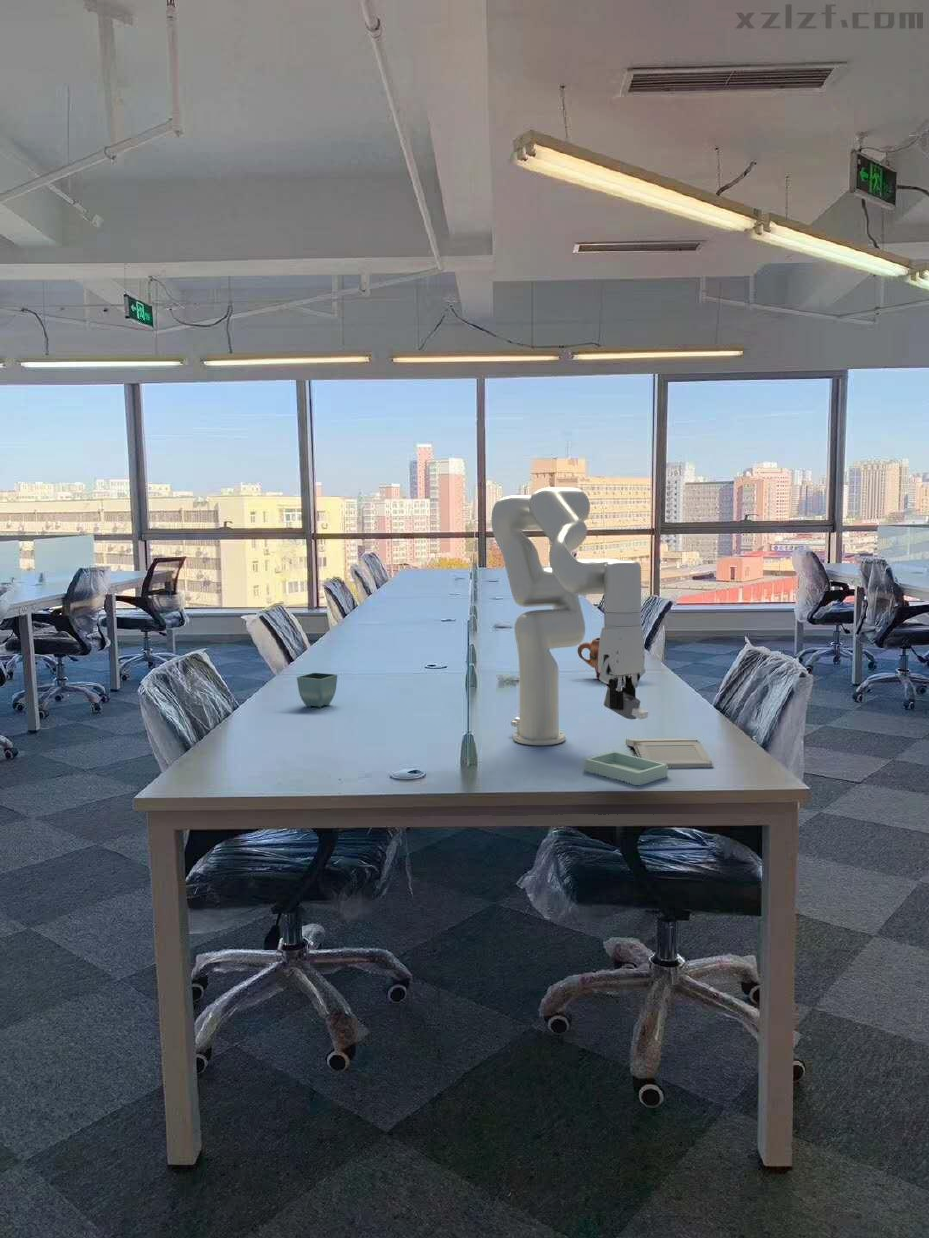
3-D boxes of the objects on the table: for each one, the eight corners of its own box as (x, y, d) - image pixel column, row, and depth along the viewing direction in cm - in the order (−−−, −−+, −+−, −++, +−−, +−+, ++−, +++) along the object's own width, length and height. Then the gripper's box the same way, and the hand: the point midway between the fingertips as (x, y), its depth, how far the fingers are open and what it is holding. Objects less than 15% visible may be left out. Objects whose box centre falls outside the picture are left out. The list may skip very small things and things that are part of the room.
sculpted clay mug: (572, 680, 294) (572, 638, 292) (581, 674, 305) (581, 634, 304) (632, 683, 286) (632, 641, 285) (639, 677, 298) (639, 636, 296)
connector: (600, 703, 187) (604, 688, 186) (610, 701, 189) (614, 686, 188) (637, 724, 180) (641, 708, 179) (647, 722, 182) (651, 706, 181)
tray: (584, 770, 188) (584, 758, 188) (614, 762, 194) (614, 751, 194) (637, 785, 177) (638, 773, 177) (667, 776, 183) (667, 764, 183)
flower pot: (339, 703, 262) (338, 673, 261) (322, 709, 254) (321, 678, 253) (314, 701, 265) (313, 672, 264) (296, 707, 257) (295, 677, 256)
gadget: (624, 744, 212) (624, 729, 212) (687, 743, 212) (687, 728, 212) (643, 771, 189) (643, 754, 189) (713, 770, 189) (713, 753, 189)
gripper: (634, 616, 191) (634, 700, 193) (581, 622, 180) (582, 710, 182) (662, 618, 185) (661, 704, 187) (609, 625, 175) (610, 716, 177)
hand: (622, 707), depth 185 cm, fingers closed on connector, 3 cm apart
